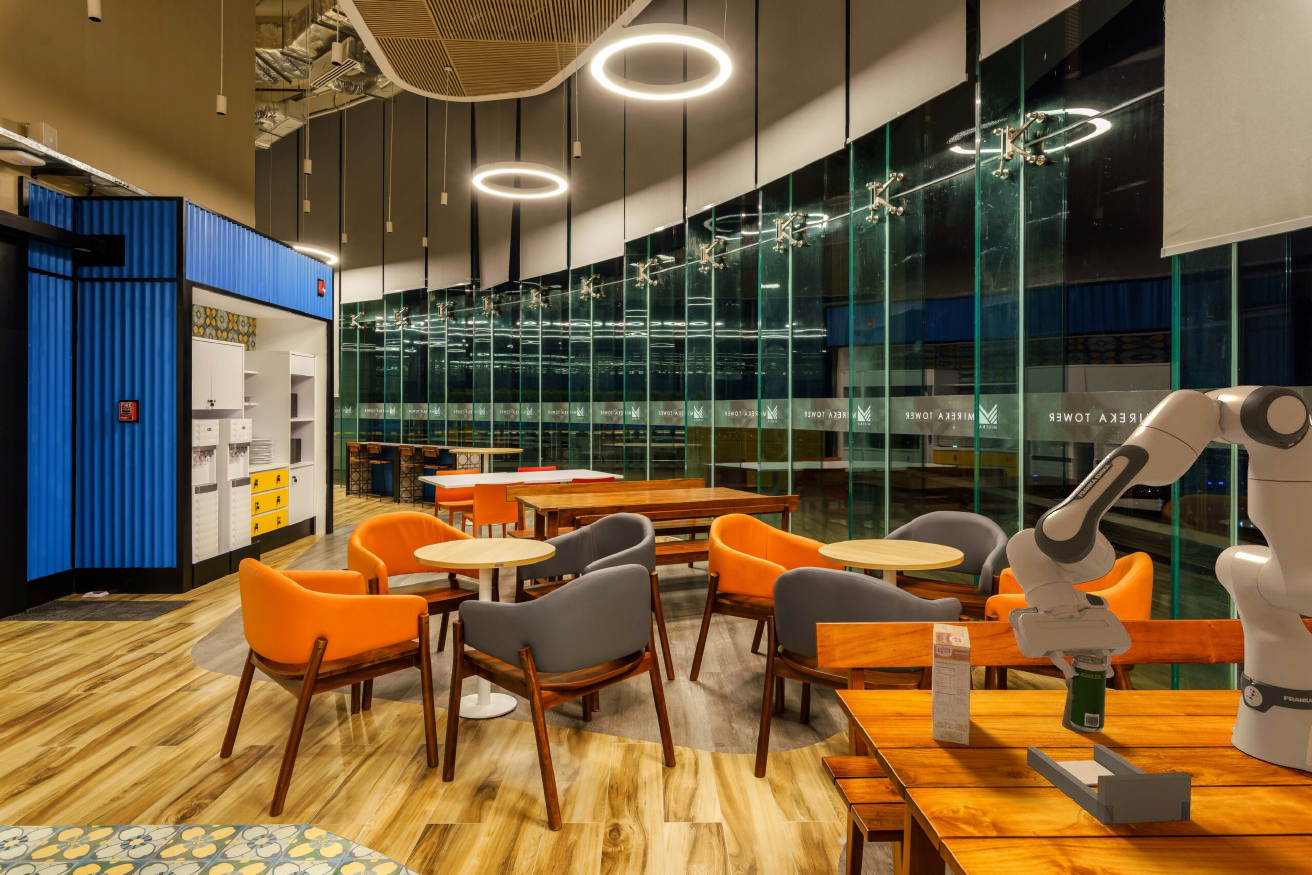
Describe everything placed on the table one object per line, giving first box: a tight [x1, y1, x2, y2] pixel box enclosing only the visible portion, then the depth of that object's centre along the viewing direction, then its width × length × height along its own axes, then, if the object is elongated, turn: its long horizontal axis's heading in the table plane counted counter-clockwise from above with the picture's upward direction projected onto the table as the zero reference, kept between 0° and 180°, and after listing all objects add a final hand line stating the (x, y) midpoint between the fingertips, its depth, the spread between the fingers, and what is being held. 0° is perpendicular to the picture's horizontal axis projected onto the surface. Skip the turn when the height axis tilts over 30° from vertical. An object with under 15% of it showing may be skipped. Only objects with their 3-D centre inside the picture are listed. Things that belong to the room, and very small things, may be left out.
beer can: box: [1069, 655, 1107, 733], centre depth 129 cm, size 5×5×12 cm
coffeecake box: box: [931, 623, 972, 746], centre depth 149 cm, size 15×7×20 cm, turn 159°
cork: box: [1061, 677, 1094, 734], centre depth 150 cm, size 6×6×11 cm
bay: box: [1026, 743, 1192, 825], centre depth 125 cm, size 15×20×7 cm
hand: (1091, 677), depth 128 cm, fingers closed on beer can, 5 cm apart
